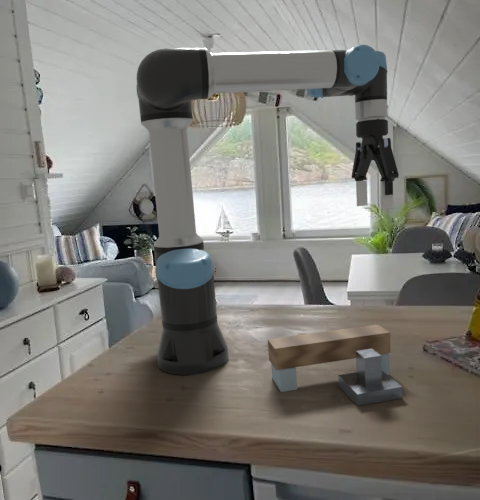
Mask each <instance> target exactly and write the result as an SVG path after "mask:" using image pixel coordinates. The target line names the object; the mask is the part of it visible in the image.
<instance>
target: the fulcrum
mask: <svg viewBox="0 0 480 500" xmlns="http://www.w3.org/2000/svg"><path fill="white" fill-rule="evenodd" d="M355 362H356V363H355V367H356V368H355V369H356V371H355V372H349V373H344V374H338V387H339V388H340V389H341V390H342V391H344V393H345V394H346V395H347V396H348V397H349V398H350V399H351V400H352V401H353V402H354V403H355V405H356V406H358V407H359V406H363V405H369V404H370V405H371V404H376V403H382V402H387V401H394V400H400V399H403V397H404V395H403V394H404V393H403V386H402V385H401V384H400V383H398V381H396V380H394V379H393V378H392V377H391V376H390V375H387V374H386V373H385V372H383V371H382V363H381V355H380V354H378V353H377V352H376V351H374V350H373V349H365V350H359V351H356V358H355Z"/></svg>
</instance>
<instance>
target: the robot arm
mask: <svg viewBox="0 0 480 500" xmlns="http://www.w3.org/2000/svg"><path fill="white" fill-rule="evenodd" d="M386 57H387V56H386V53H385V52H384V51H380V50H375V49H374V48H373V47H372V46H370V45H368V44H358V45H354V46H351V47H350V48H349V49H334V50H333V49H332V50H330V49H328V50H327V49H326V50H325V49H324V50H292V51H291V50H290V51H289V50H288V51H285V50H284V51H252V52H251V51H250V52H248V51H247V52H218V53H217V52H213V53H212V52H211V51H209V50H208V49H207V48H206V47H168V48H161V49H157V50H154V51H151V52H150V53H148V54H147V55H146V56H145V57H144V58H143V59H142V60H141V62H140V63H139V65H138V68H137V71H136V96H137V99H138V105H139V107H138V108H139V115H140V124H141V126H143V127H144V128H145V129H146V130H147V131H148V137H149V138H148V139H149V145H150V146H149V148H150V158H151V166H152V176H153V185H154V186H153V187H154V195H155V196H154V197H155V205H156V215H157V225H158V238H157V239H156V241H155V242H154V244H153V250H154V251H153V252H154V262H155V269H154V270H155V271H154V273H155V278H156V281H157V287H158V296H159V297H158V298H159V305H160V314H161V326H162V331H161V336H160V341H159V345H158V349H157V353H156V354H157V355H156V359H157V367H158V368H159V370H161V371H162V372H165V373H167V374H171V375H172V374H173V375H178V376H179V375H181V376H183V375H185V376H187V375H196V374H203V373H207V372H211V371H214V370H217V369H219V368H220V367H222V366H224V365H225V364H226V363H227V362H228V361H229V348H228V345H227V341H226V340H225V338H224V335H223V333H222V331H221V328H220V326H219V324H218V323H219V322H218V313H217V311H218V310H217V301H216V300H217V299H216V289H215V277H214V276H215V275H214V273H215V265H214V263H213V259H212V256H211V255H210V253H209V252H207V251H205V246H204V244H205V243H204V239H203V238H202V237H200V235H198V233H197V229H196V228H197V227H196V216H195V206H194V194H193V193H194V192H193V181H192V170H191V162H190V161H191V159H190V149H189V139H188V138H189V137H188V128H189V127H190V125H191V124H192V123H193V122H194V119H193V118H194V117H193V106H192V105H193V104H192V101H196V100H197V101H198V100H209V99H210V98H211V97H212V95H214V94H230V93H231V94H234V93H249V92H250V93H252V92H255V93H256V92H273V91H274V92H275V91H295V90H305V91H306V93H307V95H308V96H310V97H311V98H321V99H323V98H329V97H333V98H334V97H345V96H346V97H347V96H349V97H350V96H353V97H354V109H355V110H354V111H355V113H354V114H355V120H356V121H357V122H356V123H355V131H356V134H355V135H356V137H357V138H358V139H359V138H361V139H362V140H361V141H357V142H356V143H355V154H354V159H353V165H352V170H351V179H354V181H355V193H356V194H355V195H356V207H361V206H362V207H364V206H368V205H369V204H368V203H369V201H368V177H367V174H368V171H369V168H370V165H371V163H372V161H374V163H375V165H376V168H377V169H378V172H379V175H380V177H381V178H380V206H381V207H380V209H381V210H383V211H384V210H391V209H392V210H393V209H394V181H395V179H398V178H399V171H398V167H397V164H396V160H395V157H394V153H393V149H392V139H391V138H390V137H385V138H384V136H387V135H388V134H389V120H387V119H386V118H387V117H388V109H389V104H388V66H387V58H386Z"/></svg>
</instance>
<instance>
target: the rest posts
mask: <svg viewBox="0 0 480 500" xmlns="http://www.w3.org/2000/svg"><path fill="white" fill-rule="evenodd" d="M380 355H381V363H382V371H383V372H385V373H386V374H387V375H388V376H390V374H391V369H390V366H391V365H390V364H391V363H390V361H391V360H390V353H387V354H380ZM270 363H271V362H270ZM270 366H271V379H272V381H273V382H274V384H275V385H276V387H277V388H278V390H279V391H280V393H285V392H290V391H296V390H297V391H298V380H297V367H294V368H288V369H281V370H276V369H275V368H274V366H273V365H272V363H271V365H270Z"/></svg>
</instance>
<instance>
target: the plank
mask: <svg viewBox="0 0 480 500" xmlns="http://www.w3.org/2000/svg"><path fill="white" fill-rule="evenodd" d="M267 347H268V348H267V349H268V360H269V362H270V363H272V365H273V366H274V368H275V369H276V370H281V369H288V368H294V367H295V368H299V367H307V366H314V365H320V364H327V363H333V362H340V361H341V362H342V361H347V360H353V359H356V351H359V350H365V349H373V350H374V351H376V352H377V353H378V354H387V353H388V354H391V353H392V352H391V332H390V331H389V330H387V329H386V328H384V327H383V326H381V325H379V324H373V325H372V324H370V325H364V326H356V327H349V328H342V329H335V330H328V331H327V330H326V331H320V332H319V331H318V332H313V333H306V334H300V335H298V334H297V335H293V336H292V335H291V336H285V337H275V338H270V339H267Z"/></svg>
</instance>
